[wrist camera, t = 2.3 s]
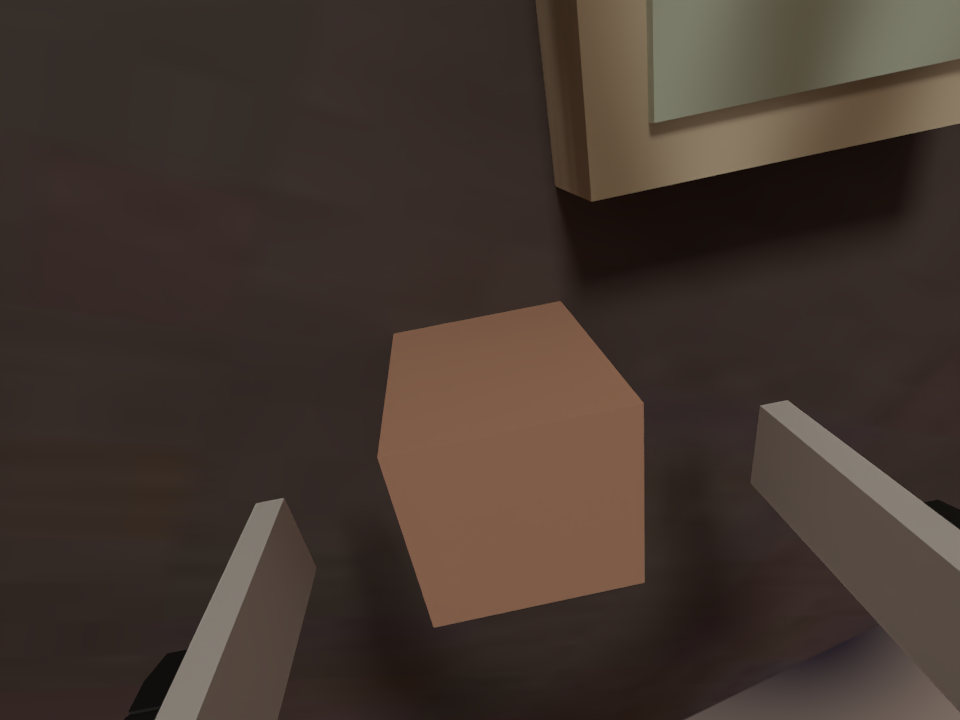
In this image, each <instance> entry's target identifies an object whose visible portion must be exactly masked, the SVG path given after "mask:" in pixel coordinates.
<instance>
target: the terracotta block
mask: <svg viewBox="0 0 960 720" xmlns="http://www.w3.org/2000/svg"><path fill="white" fill-rule="evenodd" d="M377 458H378V461H379V464H380V467H381V470H382V473H383V476H384V479H385V482H386V485H387V488H388V491H389V494H390V497H391V500H392V503H393V506H394V509H395V512H396V515H397V518H398V521H399V524H400V527H401V530H402V533H403V536H404V539H405V542H406V545H407V548H408V551H409V554H410V557H411V560H412V563H413V566H414V569H415V572H416V575H417V578H418V581H419V585H420V588H421V591H422V594H423V597H424V600H425V603H426V606H427V609H428V612H429V615H430V618H431V621H432V624H433V627H434V628H435V627H439V626H444V625H449V624H453V623H458V622H463V621H467V620H472V619H477V618H481V617H486V616H491V615H495V614H500V613H505V612H509V611H514V610H519V609H523V608H528V607H533V606H537V605H542V604H547V603H551V602H556V601H561V600H565V599H570V598H575V597H579V596H584V595H589V594H593V593H598V592H603V591H607V590H612V589H617V588H622V587H626V586H631V585H636V584H640V583H645V561H644V403H643V402H642V401H641V399H640V398H639V397H638V396H637V394H636V393H635V392H634V391H633V390H632V388H631V387H630V386H629V385H628V383H627V382H626V381H625V380H624V378H623V377H622V376H621V375H620V374H619V372H618V371H617V370H616V369H615V367H614V366H613V365H612V364H611V362H610V361H609V360H608V359H607V358H606V356H605V355H604V354H603V353H602V351H601V350H600V349H599V348H598V346H597V345H596V344H595V343H594V342H593V340H592V339H591V338H590V337H589V335H588V334H587V333H586V332H585V330H584V329H583V328H582V327H581V326H580V324H579V323H578V322H577V321H576V319H575V318H574V317H573V316H572V314H571V313H570V312H569V311H568V310H567V308H566V307H565V306H564V305H563V303H562V302H561V301H559V302H554V303H549V304H544V305H538V306H533V307H528V308H523V309H518V310H513V311H508V312H503V313H498V314H492V315H487V316H482V317H477V318H472V319H467V320H462V321H457V322H452V323H446V324H441V325H436V326H431V327H426V328H421V329H416V330H411V331H406V332H401V333H395V334H394V335H393V343H392V350H391V358H390V366H389V373H388V381H387V388H386V396H385V404H384V411H383V419H382V426H381V434H380V441H379V449H378V457H377Z"/></svg>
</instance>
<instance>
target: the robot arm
mask: <svg viewBox="0 0 960 720" xmlns="http://www.w3.org/2000/svg"><path fill="white" fill-rule="evenodd" d="M751 484H752V485H753V486H754V487H755V488H756V490H757V491H758V492H759V493H760V494H761V495H762V496H763V497H764V498H765V499H766V500H767V502H768V503H769V504H770V505H771V506H772V507H773V508H774V509H775V510H776V511H777V513H778V514H779V515H780V516H781V517H782V518H783V519H784V520H785V521H786V522H787V523H788V525H789V526H790V527H791V528H792V529H793V530H794V531H795V532H796V533H797V534H798V536H799V537H800V538H801V539H802V540H803V541H804V542H805V543H806V544H807V545H808V546H809V548H810V549H811V550H812V551H813V552H814V553H815V554H816V555H817V556H818V557H819V559H820V560H821V561H822V562H823V563H824V564H825V565H826V566H827V567H828V568H829V570H830V571H831V572H832V573H833V574H834V575H835V576H836V577H837V578H838V579H839V580H840V582H841V583H842V584H843V585H844V586H845V587H846V588H847V589H848V590H849V591H850V593H851V594H852V595H853V596H854V597H855V598H856V599H857V600H858V601H859V602H860V603H861V605H862V606H863V607H864V608H865V609H866V610H867V611H868V612H869V613H870V614H871V616H872V617H873V618H874V619H875V620H876V621H877V622H878V623H879V624H880V625H881V626H882V628H883V629H884V630H885V631H886V632H887V633H888V634H889V635H890V636H891V637H892V638H893V640H894V641H895V642H896V643H897V644H898V645H899V646H900V647H901V648H902V649H903V651H904V652H905V653H906V654H907V655H908V656H909V657H910V658H911V659H912V660H913V661H914V663H915V664H916V665H917V666H918V667H919V668H920V669H921V670H922V671H923V673H925V675H926V676H927V677H928V678H929V679H930V680H931V681H932V682H933V683H934V684H935V686H936V687H937V688H938V689H939V690H940V691H941V692H942V693H943V694H944V695H945V697H946V698H947V699H948V700H949V701H950V702H951V703H952V704H953V705H954V706H955V708H956V709H957V710H958V711H959V712H960V510H959V509H957V508H955V507H953V506H951V505H948V504H946V503H944V502H942V501H940V500H934V501H929V502H924V503H923V502H922V501H921V500H919V499H918V498H917V497H915V496H914V495H913V494H911V493H910V492H909V491H907V490H906V489H905V488H903V487H902V486H901V485H899V484H898V483H897V482H895V481H894V480H893V479H891V478H890V477H889V476H887V475H886V474H885V473H883V472H882V471H881V470H879V469H878V468H877V467H875V466H874V465H873V464H871V463H870V462H869V461H867V460H866V459H865V458H863V457H862V456H861V455H859V454H858V453H857V452H855V451H854V450H853V449H852V448H850V447H849V446H848V445H846V444H845V443H844V442H842V441H841V440H840V439H838V438H837V437H836V436H834V435H833V434H832V433H830V432H829V431H828V430H826V429H825V428H824V427H822V426H821V425H820V424H818V423H817V422H816V421H814V420H813V419H812V418H810V417H809V416H808V415H806V414H805V413H804V412H802V411H801V410H800V409H798V408H797V407H796V406H794V405H793V404H792V403H790V402H789V401H788V400H787V401H781V402H776V403H771V404H766V405H761V406H760V410H759V418H758V426H757V435H756V443H755V451H754V459H753V467H752V475H751ZM316 569H317V568H316V566H315V564H314V561H313V559H312V557H311V555H310V553H309V551H308V548H307V546H306V544H305V542H304V540H303V538H302V536H301V533H300V531H299V529H298V527H297V525H296V523H295V520H294V518H293V516H292V514H291V512H290V510H289V507H288V505H287V503H286V501H285V499H284V498H281V499H276V500H271V501H266V502H261V503H256V504H255V506H254V509H253V511H252V513H251V515H250V517H249V519H248V521H247V524H246V526H245V528H244V530H243V532H242V534H241V536H240V539H239V541H238V543H237V545H236V547H235V549H234V551H233V554H232V556H231V558H230V560H229V562H228V564H227V566H226V569H225V571H224V573H223V575H222V577H221V579H220V581H219V584H218V586H217V588H216V590H215V592H214V594H213V596H212V599H211V601H210V603H209V605H208V607H207V609H206V611H205V614H204V616H203V618H202V620H201V622H200V624H199V626H198V628H197V631H196V633H195V635H194V637H193V639H192V641H191V643H190V646H189V648H188V650H183V651H178V652H173V653H168V654H167V655H166V656H165V657H164V658H163V659H162V661H161V662H160V663H159V664H158V665H157V667H156V668H155V669H154V670H153V671H152V673H151V674H150V675H149V676H148V677H147V679H146V680H145V681H144V683H143V685H142V687H141V689H140V691H139V692H138V694H137V696H136V698H135V700H134V702H133V704H132V706H131V708H130V710H129V716H128V717H125V719H124V720H277V719H278V715H279V711H280V708H281V704H282V700H283V696H284V692H285V688H286V684H287V681H288V677H289V673H290V669H291V665H292V661H293V657H294V654H295V650H296V646H297V642H298V638H299V634H300V630H301V626H302V623H303V619H304V615H305V611H306V607H307V603H308V599H309V596H310V592H311V588H312V584H313V580H314V576H315V572H316Z"/></svg>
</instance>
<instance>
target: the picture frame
mask: <svg viewBox="0 0 960 720" xmlns="http://www.w3.org/2000/svg"><path fill="white" fill-rule="evenodd" d="M536 10H537V19H538V29H539V38H540V47H541V57H542V66H543V76H544V85H545V94H546V104H547V113H548V123H549V132H550V141H551V151H552V160H553V170H554V179H555V186H556V187H558V188H560V189H563V190H565V191H568V192H570V193H572V194H575V195H577V196H579V197H582V198H584V199H586V200H589V201H591V202H593V201H597V200H602V199H607V198H612V197H616V196H621V195H626V194H630V193H635V192H640V191H644V190H649V189H654V188H658V187H663V186H668V185H673V184H677V183H682V182H687V181H691V180H696V179H701V178H705V177H710V176H715V175H719V174H724V173H729V172H733V171H738V170H743V169H748V168H752V167H757V166H762V165H766V164H771V163H776V162H780V161H785V160H790V159H794V158H799V157H804V156H809V155H813V154H818V153H823V152H827V151H832V150H837V149H841V148H846V147H851V146H855V145H860V144H865V143H869V142H874V141H879V140H884V139H888V138H893V137H898V136H902V135H907V134H912V133H916V132H921V131H926V130H930V129H935V128H940V127H945V126H949V125H954V124H959V123H960V0H536Z"/></svg>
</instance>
